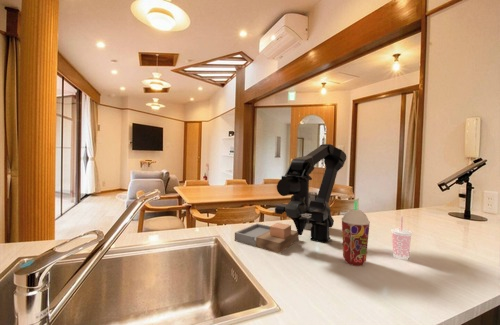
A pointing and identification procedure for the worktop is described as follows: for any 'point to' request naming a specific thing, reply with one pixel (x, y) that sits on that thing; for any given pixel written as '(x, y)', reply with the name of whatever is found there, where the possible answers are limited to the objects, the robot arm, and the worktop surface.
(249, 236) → the box
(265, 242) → the board
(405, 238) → the beverage cup
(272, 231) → the salmon pink block
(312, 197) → the coffee box
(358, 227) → the smoothie
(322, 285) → the worktop surface
